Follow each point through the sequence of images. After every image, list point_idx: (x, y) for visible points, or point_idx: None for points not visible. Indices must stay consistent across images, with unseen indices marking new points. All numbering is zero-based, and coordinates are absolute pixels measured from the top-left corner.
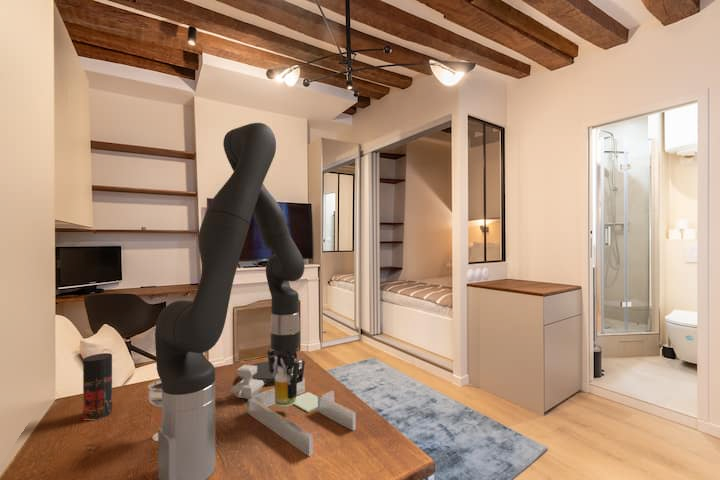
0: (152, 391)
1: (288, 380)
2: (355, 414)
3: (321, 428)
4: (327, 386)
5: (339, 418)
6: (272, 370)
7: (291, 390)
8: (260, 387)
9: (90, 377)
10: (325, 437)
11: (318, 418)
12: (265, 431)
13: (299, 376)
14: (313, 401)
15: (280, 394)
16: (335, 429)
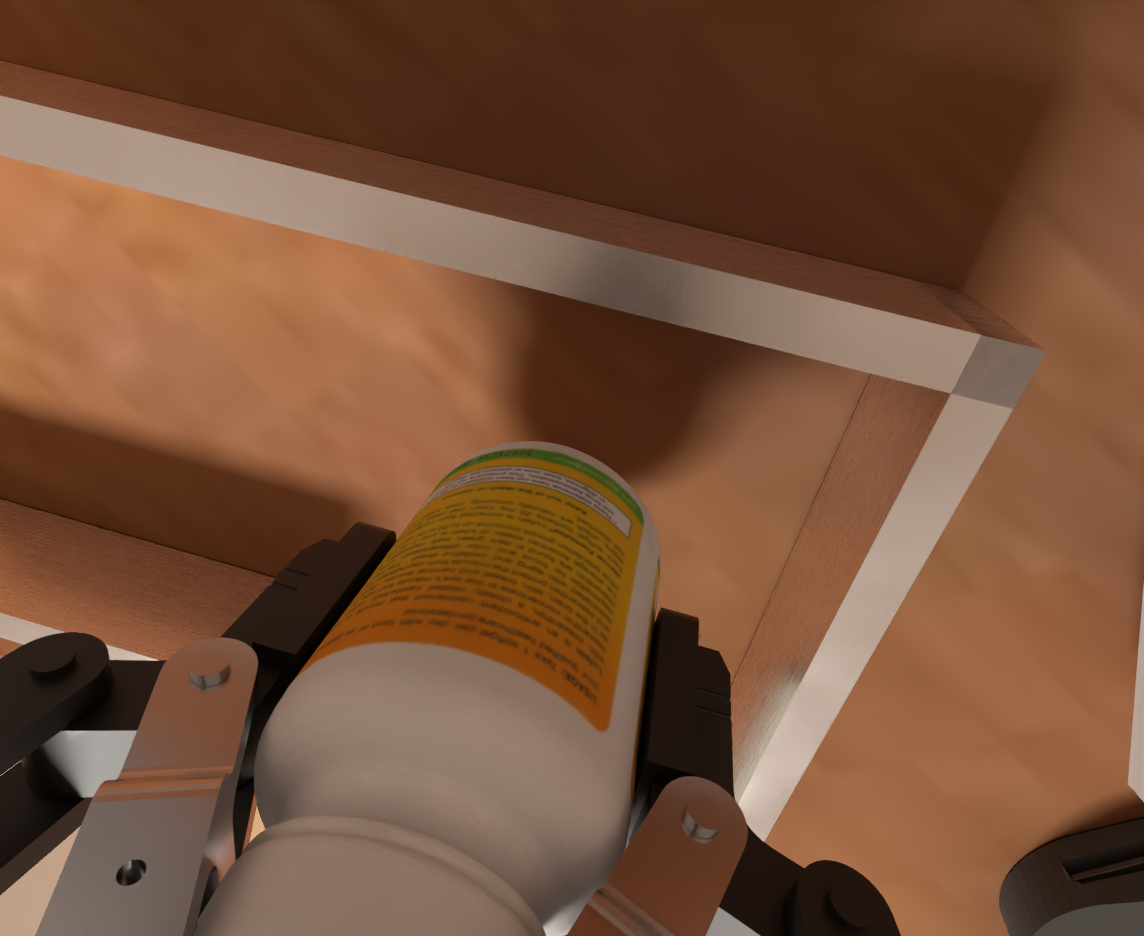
0: None
1: (211, 699)
2: None
3: (132, 419)
4: None
5: (68, 550)
6: (795, 922)
7: (275, 595)
8: (1133, 722)
9: None
10: (7, 331)
11: (266, 524)
12: (460, 104)
13: (32, 810)
14: None
15: (450, 516)
16: (56, 454)
